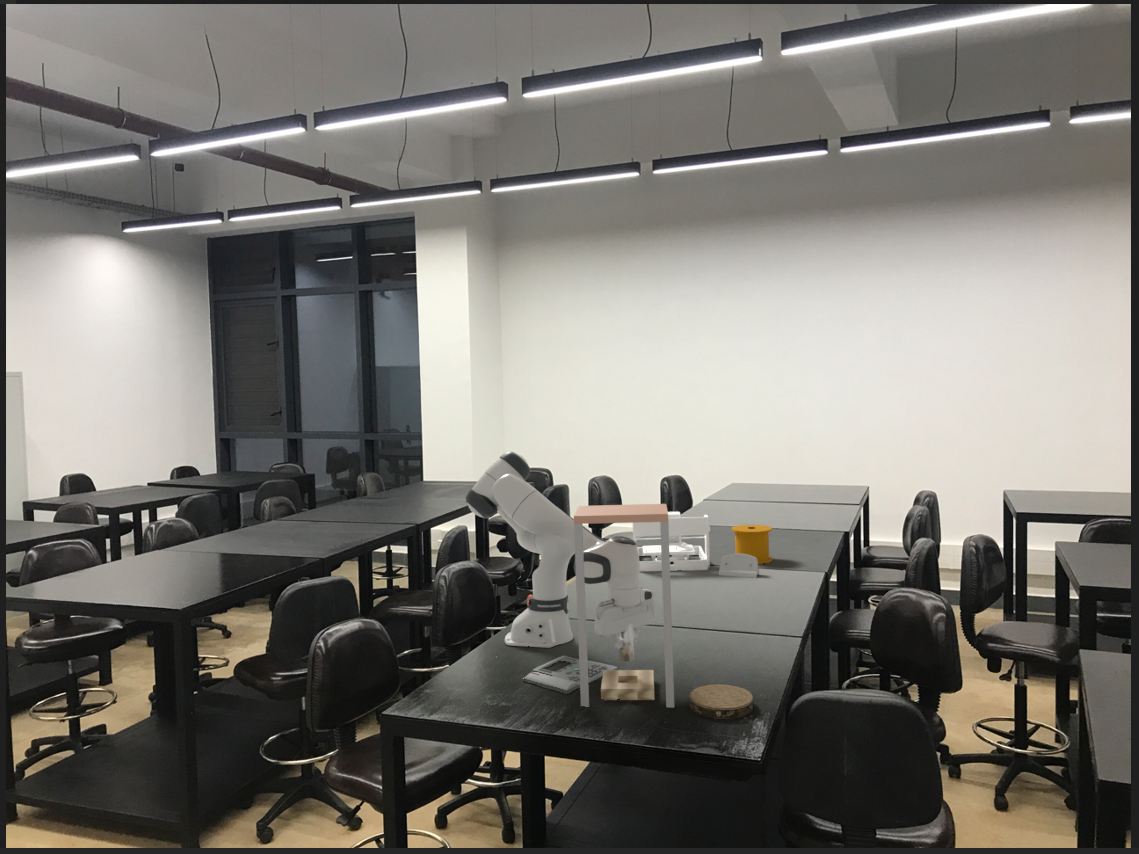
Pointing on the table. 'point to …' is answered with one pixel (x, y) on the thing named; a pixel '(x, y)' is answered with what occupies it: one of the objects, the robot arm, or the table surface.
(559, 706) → the table surface
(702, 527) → the 3d printer
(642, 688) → the socket block
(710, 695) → the wood slice
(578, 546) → the pink-topped arch frame
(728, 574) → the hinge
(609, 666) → the office telephone
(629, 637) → the peg
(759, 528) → the spool
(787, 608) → the table surface
